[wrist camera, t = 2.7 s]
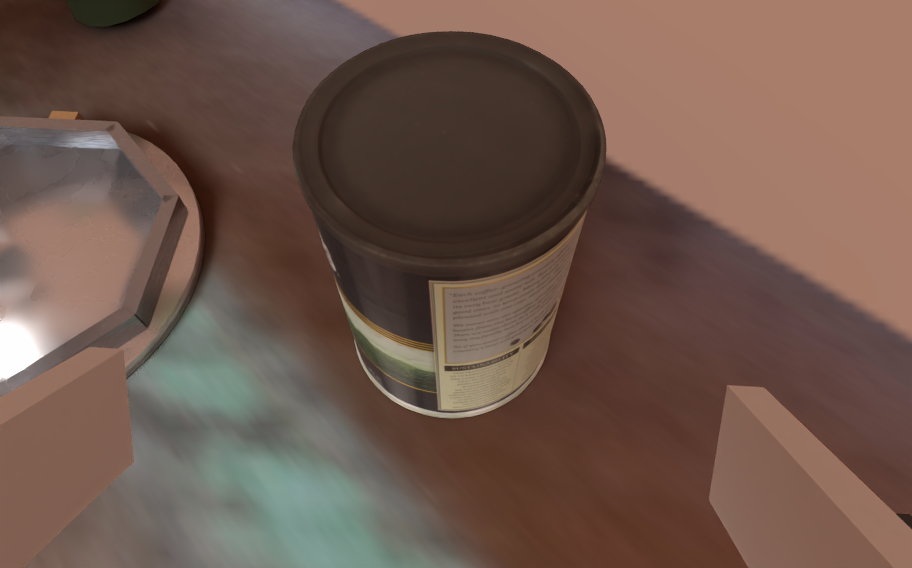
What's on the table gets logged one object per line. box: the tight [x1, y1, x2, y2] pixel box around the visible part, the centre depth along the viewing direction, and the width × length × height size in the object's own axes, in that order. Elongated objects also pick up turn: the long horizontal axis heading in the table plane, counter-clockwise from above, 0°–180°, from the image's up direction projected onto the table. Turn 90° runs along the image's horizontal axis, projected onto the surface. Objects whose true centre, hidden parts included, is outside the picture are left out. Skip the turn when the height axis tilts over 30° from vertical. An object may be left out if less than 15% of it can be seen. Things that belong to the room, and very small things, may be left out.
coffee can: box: [293, 31, 606, 418], centre depth 27 cm, size 10×10×14 cm
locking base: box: [0, 111, 205, 397], centre depth 34 cm, size 20×20×2 cm
